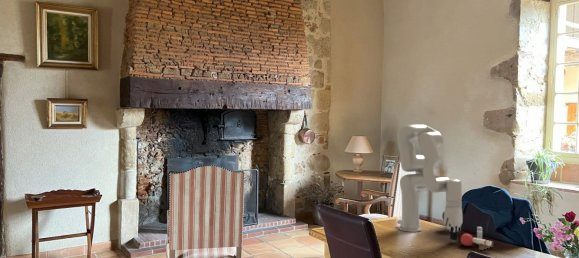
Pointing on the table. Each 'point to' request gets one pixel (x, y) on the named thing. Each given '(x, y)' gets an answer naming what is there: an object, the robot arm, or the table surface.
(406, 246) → the table surface
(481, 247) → the backstop
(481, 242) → the ivory pin
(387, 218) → the table surface
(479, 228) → the slate-blue pin
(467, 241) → the ball
